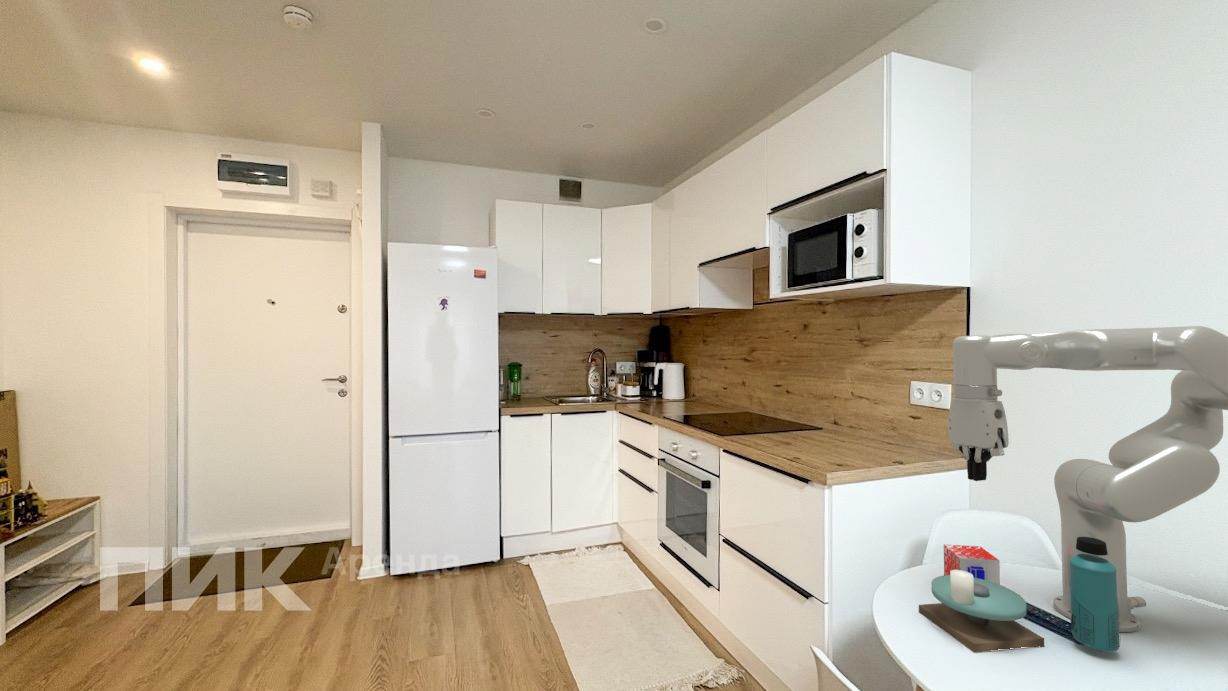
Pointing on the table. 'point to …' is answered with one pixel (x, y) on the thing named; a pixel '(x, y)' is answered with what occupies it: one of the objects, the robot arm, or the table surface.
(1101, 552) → the beverage bottle
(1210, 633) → the table surface
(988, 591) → the handwheel
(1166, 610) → the table surface
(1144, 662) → the table surface
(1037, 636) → the stand
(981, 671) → the table surface
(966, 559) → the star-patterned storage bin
